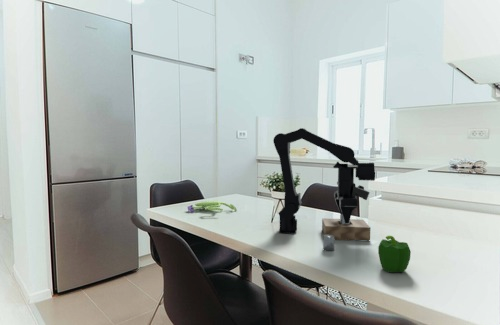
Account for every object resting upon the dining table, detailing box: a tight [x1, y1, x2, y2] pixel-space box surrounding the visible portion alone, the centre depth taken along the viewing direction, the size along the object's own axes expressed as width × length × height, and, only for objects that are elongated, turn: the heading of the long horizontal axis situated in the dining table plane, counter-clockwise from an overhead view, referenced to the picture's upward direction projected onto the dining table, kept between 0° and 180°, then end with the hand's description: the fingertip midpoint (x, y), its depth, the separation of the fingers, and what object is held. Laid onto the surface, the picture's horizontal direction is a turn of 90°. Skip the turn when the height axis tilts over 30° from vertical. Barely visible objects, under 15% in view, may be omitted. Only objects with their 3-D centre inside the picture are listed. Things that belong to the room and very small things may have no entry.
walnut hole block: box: [321, 218, 371, 241], centre depth 122 cm, size 16×12×5 cm
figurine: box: [187, 200, 238, 214], centre depth 165 cm, size 18×27×6 cm
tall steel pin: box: [339, 214, 350, 225], centre depth 122 cm, size 4×4×8 cm
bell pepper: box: [377, 235, 411, 273], centre depth 89 cm, size 8×8×10 cm
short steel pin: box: [322, 234, 335, 252], centre depth 106 cm, size 4×4×4 cm
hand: (344, 220), depth 122 cm, fingers open, 9 cm apart
